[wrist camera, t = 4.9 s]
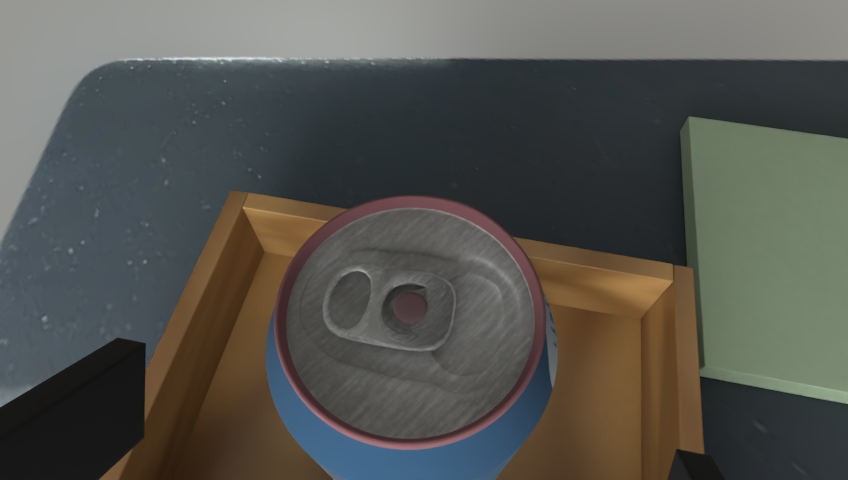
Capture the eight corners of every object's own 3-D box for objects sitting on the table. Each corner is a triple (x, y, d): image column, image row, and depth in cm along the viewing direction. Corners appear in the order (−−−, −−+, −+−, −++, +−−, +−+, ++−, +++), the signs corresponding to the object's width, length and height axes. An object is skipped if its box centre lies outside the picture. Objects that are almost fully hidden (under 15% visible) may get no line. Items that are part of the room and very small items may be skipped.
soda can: (512, 360, 23) (582, 195, 13) (493, 544, 20) (569, 519, 9) (353, 333, 24) (299, 154, 14) (308, 506, 20) (188, 443, 10)
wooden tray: (656, 309, 25) (694, 266, 21) (664, 725, 17) (725, 765, 14) (256, 238, 27) (230, 188, 23) (110, 584, 19) (41, 588, 16)
